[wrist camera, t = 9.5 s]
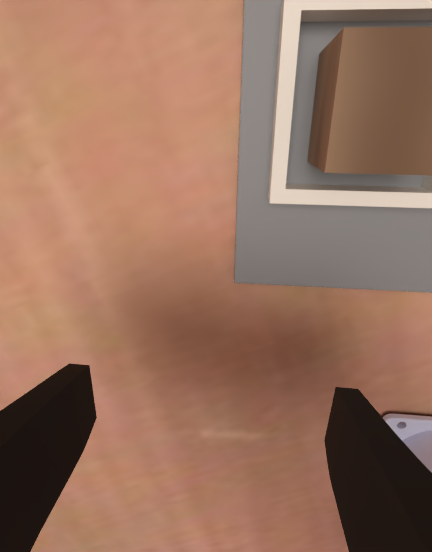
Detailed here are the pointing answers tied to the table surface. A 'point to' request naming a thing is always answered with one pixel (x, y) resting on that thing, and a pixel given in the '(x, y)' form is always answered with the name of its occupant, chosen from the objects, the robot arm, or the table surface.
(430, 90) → the walnut block
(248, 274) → the pocket board
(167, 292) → the table surface
